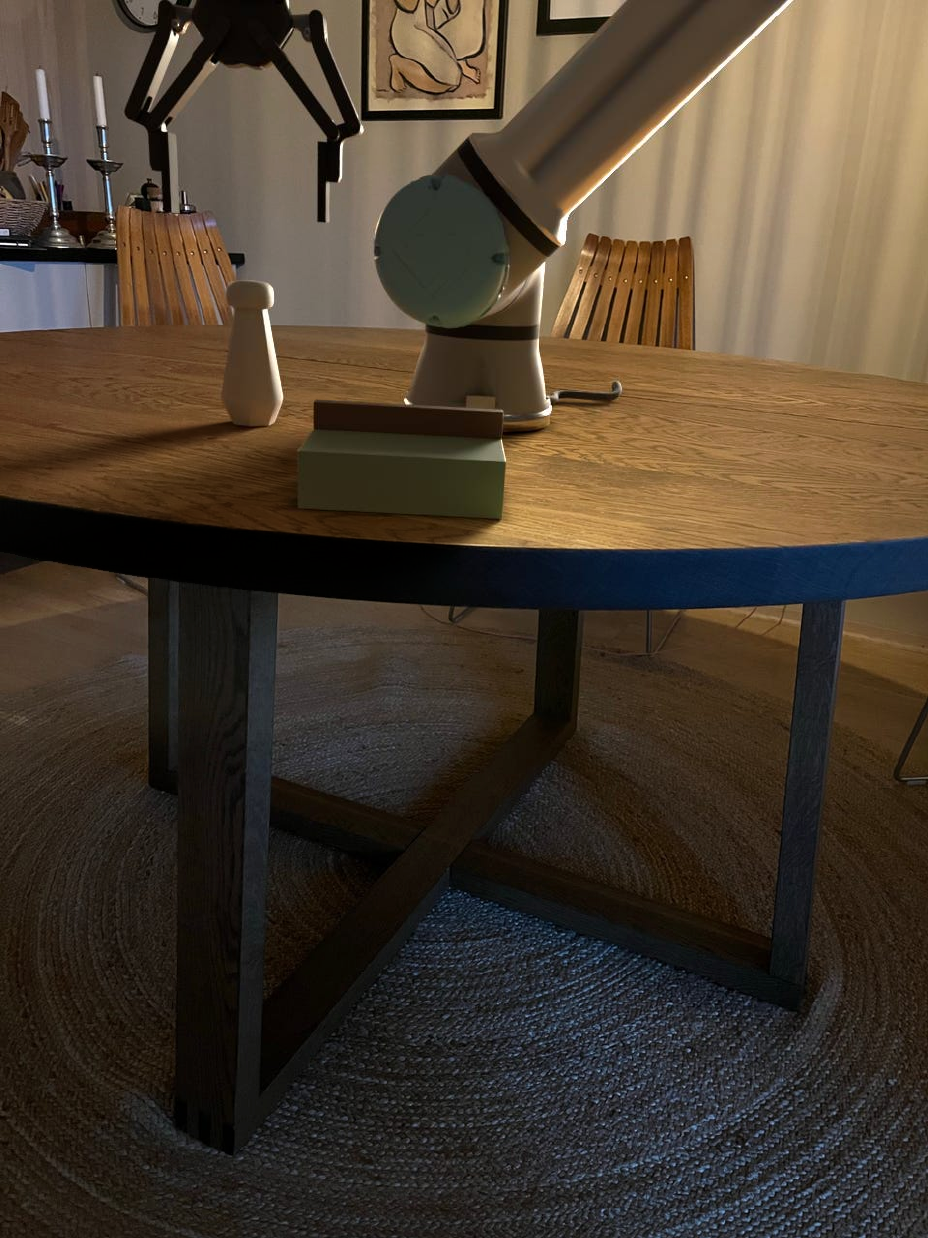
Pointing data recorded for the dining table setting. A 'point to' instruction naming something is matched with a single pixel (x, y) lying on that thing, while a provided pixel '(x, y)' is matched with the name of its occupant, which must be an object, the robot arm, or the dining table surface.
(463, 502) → the spice shelf
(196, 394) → the dining table surface
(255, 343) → the salt shaker
